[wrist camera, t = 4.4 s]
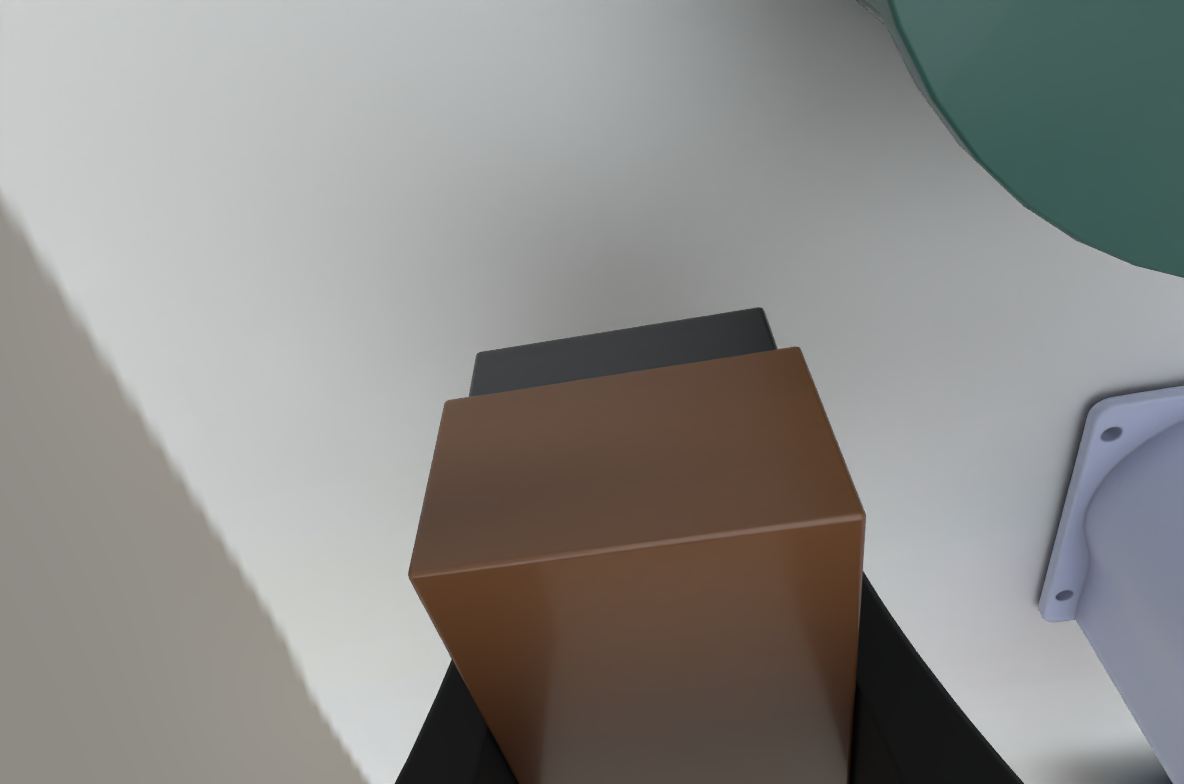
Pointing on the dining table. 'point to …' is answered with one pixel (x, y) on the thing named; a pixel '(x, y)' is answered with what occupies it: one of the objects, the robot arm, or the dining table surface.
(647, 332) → the brown rectangular block
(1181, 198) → the pot lid
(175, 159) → the dining table surface
